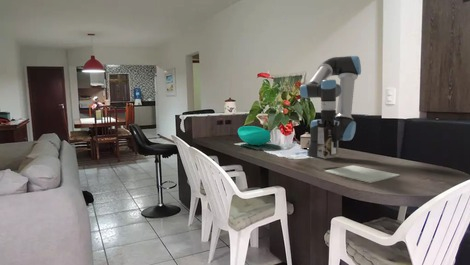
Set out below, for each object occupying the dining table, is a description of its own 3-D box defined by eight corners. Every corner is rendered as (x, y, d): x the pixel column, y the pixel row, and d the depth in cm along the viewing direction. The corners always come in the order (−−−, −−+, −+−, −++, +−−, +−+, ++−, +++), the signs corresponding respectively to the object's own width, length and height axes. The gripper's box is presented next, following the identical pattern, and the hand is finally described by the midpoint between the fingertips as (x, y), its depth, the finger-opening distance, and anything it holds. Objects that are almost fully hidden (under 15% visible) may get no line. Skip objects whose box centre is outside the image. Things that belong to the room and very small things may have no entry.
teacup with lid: (307, 150, 231) (307, 133, 230) (297, 148, 238) (297, 132, 237) (318, 148, 238) (318, 132, 237) (308, 146, 245) (308, 131, 244)
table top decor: (231, 143, 270) (230, 126, 268) (261, 140, 280) (261, 125, 279) (251, 150, 233) (251, 131, 232) (285, 147, 244) (285, 129, 242)
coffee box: (324, 158, 171) (324, 127, 169) (317, 156, 177) (317, 126, 175) (338, 157, 174) (339, 126, 172) (330, 154, 180) (331, 125, 178)
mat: (324, 171, 164) (324, 170, 164) (352, 166, 176) (352, 165, 176) (370, 182, 143) (370, 181, 143) (399, 175, 154) (399, 174, 154)
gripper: (309, 109, 179) (309, 150, 182) (338, 110, 162) (338, 156, 165) (319, 108, 183) (318, 149, 186) (348, 109, 166) (348, 154, 169)
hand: (327, 152), depth 175 cm, fingers closed on coffee box, 7 cm apart
